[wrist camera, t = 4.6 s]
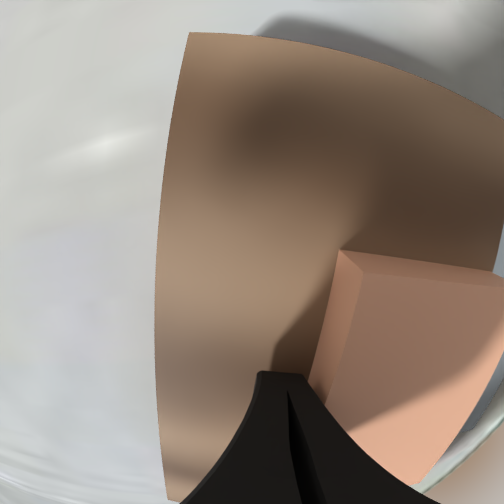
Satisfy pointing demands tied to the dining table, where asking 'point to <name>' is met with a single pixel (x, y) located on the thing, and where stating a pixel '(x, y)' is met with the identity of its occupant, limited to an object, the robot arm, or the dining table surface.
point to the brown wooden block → (296, 215)
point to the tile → (407, 355)
